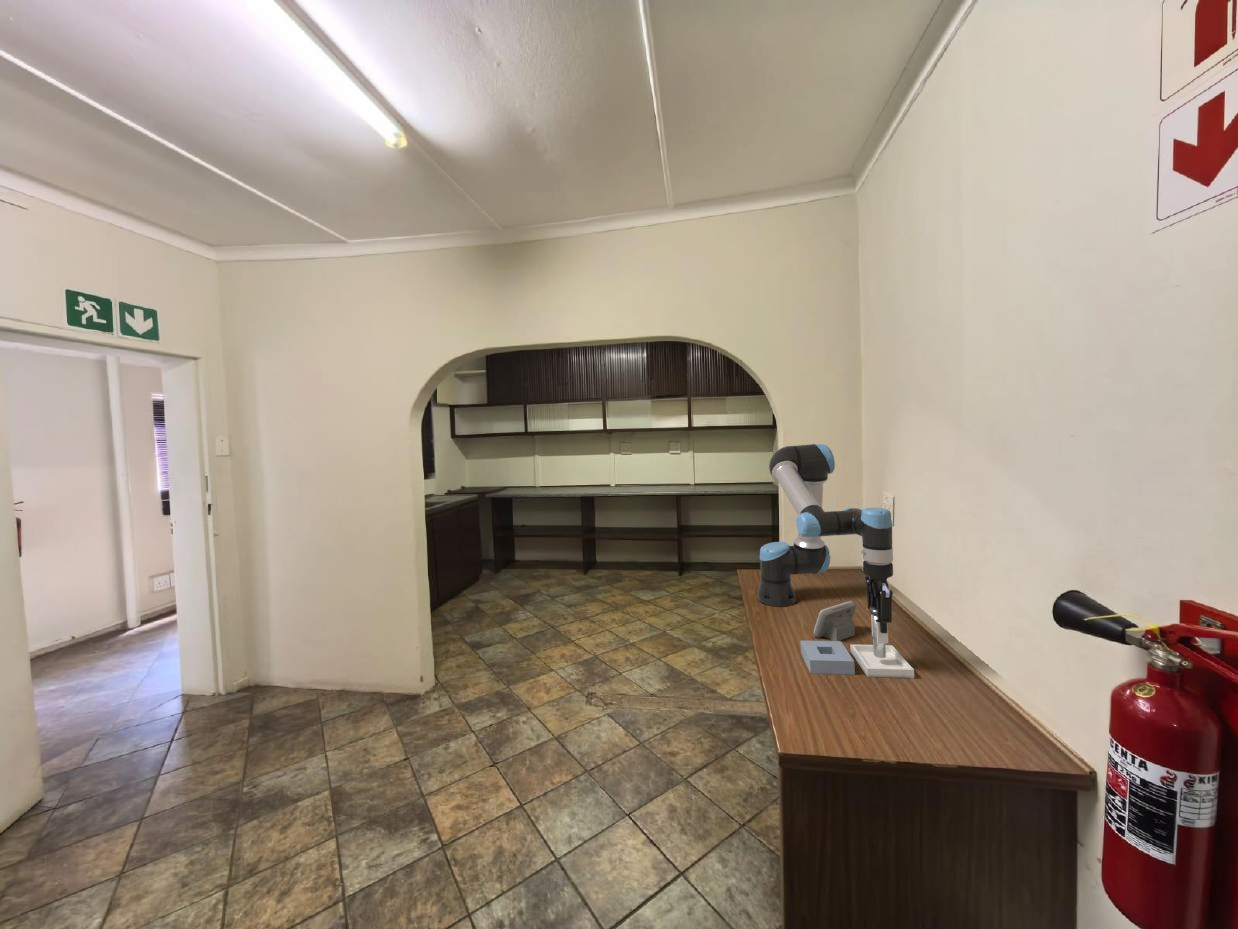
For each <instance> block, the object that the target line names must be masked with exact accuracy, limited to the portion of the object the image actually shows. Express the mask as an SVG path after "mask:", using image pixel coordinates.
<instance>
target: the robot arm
mask: <svg viewBox="0 0 1238 929" xmlns="http://www.w3.org/2000/svg"><path fill="white" fill-rule="evenodd" d="M835 462H836V461H835V456H834V454H833V451H832V450H831V448H830V447H829V446H828V445H827V444H823V443H821V444H818V443H817V444H816V443H811V444H801V445H787V446H784V447H781V448H778V450H776V451H775V452H774V453H773V455H772V456H771V458H770V460H769V465H768V469H769V473H770V476H771V478H772V479H773V480H774V481H775V482H777V483H779V485H780V487H781V489H782V490H783V492H784V494H785V495H786V497H787V498H788V501H789V502H790V504H791V506H792V507H793V508H794V511H795V512H796V514H797V516H796V518H795V519H796V520H795V524H796V529H797V536H796V538H794V539H793V545H790V543H787V542H786V541H785V542H784V541H774V542H768V543H766V544H763V545H762V546H761V547H760V550H759V562H760V563H759V566H760V582H759V583H760V584H759V587H758V591H757V596H756V597H757V600H758V601H759V602H760V603H761V602H762V603H761V604H763V603H764V605H767V606H772V607H788V606H792V605H794V604H796V602H797V596H796V591H795V590H794V588H793V585H792V584H793V583H792V581H791V576H794V575H809V574H811V575H816V574H820V573H825V572H826V571H827V570H828V568H829V566H830V563H831V555H830V549H829V547H828V546H827V545H826V544H825V541H824V540H823V539H822V538H821V537H832V536H846V535H847V536H848V535H857V536H860V537H861V539H862V540H861V541H862V544H861V545H862V550H861V551H860V554H862V559H863V562H862V568H863V569H862V570H863V571H862V572H863V574H864V575H865V583H866V599H867V609H868V610H870V607H871V606H877V614H878V619H875V621H876V622H877V642H878V643H886V644H889V626H888V625H889V623H892V620H893V618H892V613H893V612H892V609H893V608H892V606H893V604H892V602H893V600H892V599H893V593H894V592H893V590H892V589H891V590H889V582H888V580H887V579H889V578H892V577H893V576H894V564H893V563H892V562H894V552H893V551H894V548H893V519H892V512H891V511H890V510H889V509H888V508H885V507H865V508H863V509H860V508H856V507H847V508H845V509H843V510H832V511H825V510H824V509H823V497H824V496H823V494H824V492H823V491H824V483H826V482H827V481H828V479H829V478H828V475H830V474H832V473H833V472H834V471H835V467H836V463H835ZM870 614H871V615H870V616H871V617H870V618H871V622H870V623H871V636H872V637H873V623H872V613H870Z"/></svg>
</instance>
